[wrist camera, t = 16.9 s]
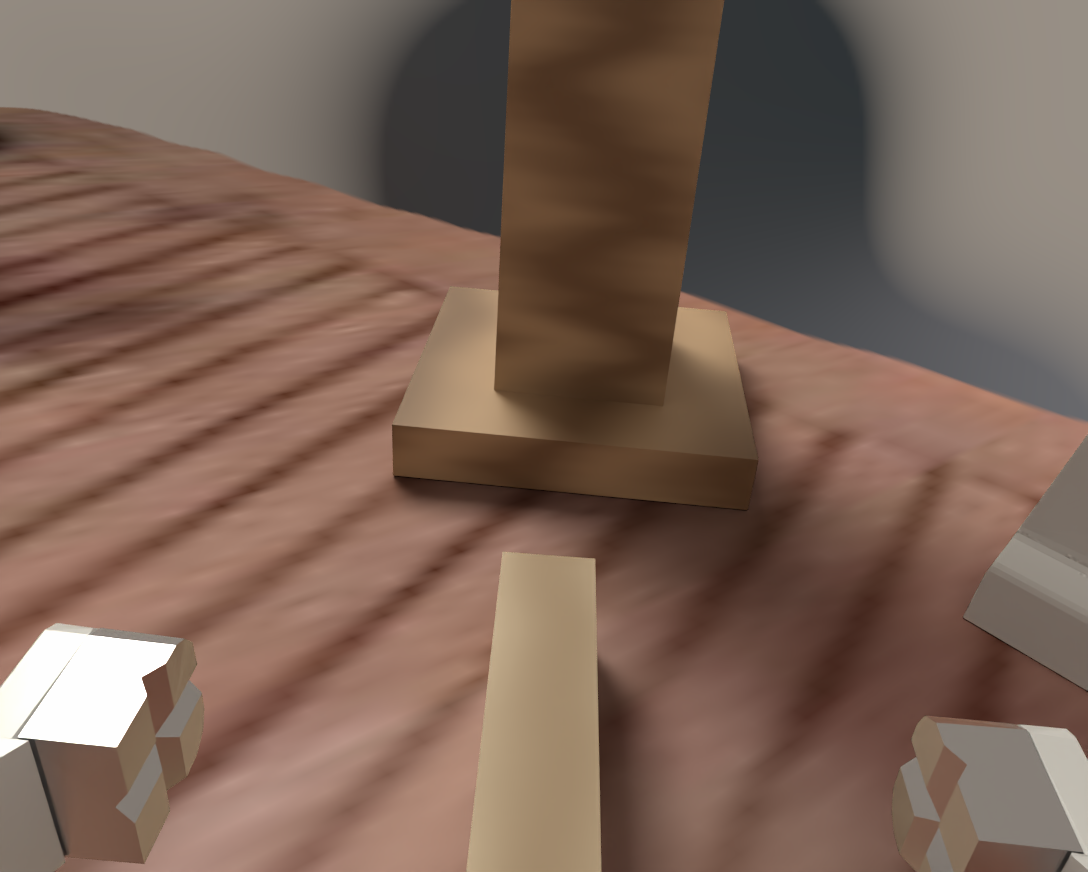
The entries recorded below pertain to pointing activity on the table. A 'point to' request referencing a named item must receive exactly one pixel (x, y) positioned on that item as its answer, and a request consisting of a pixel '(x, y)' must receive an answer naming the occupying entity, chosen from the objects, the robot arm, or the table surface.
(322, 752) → the table surface
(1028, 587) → the grey arched block
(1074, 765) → the robot arm
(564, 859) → the batten
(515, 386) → the stand
